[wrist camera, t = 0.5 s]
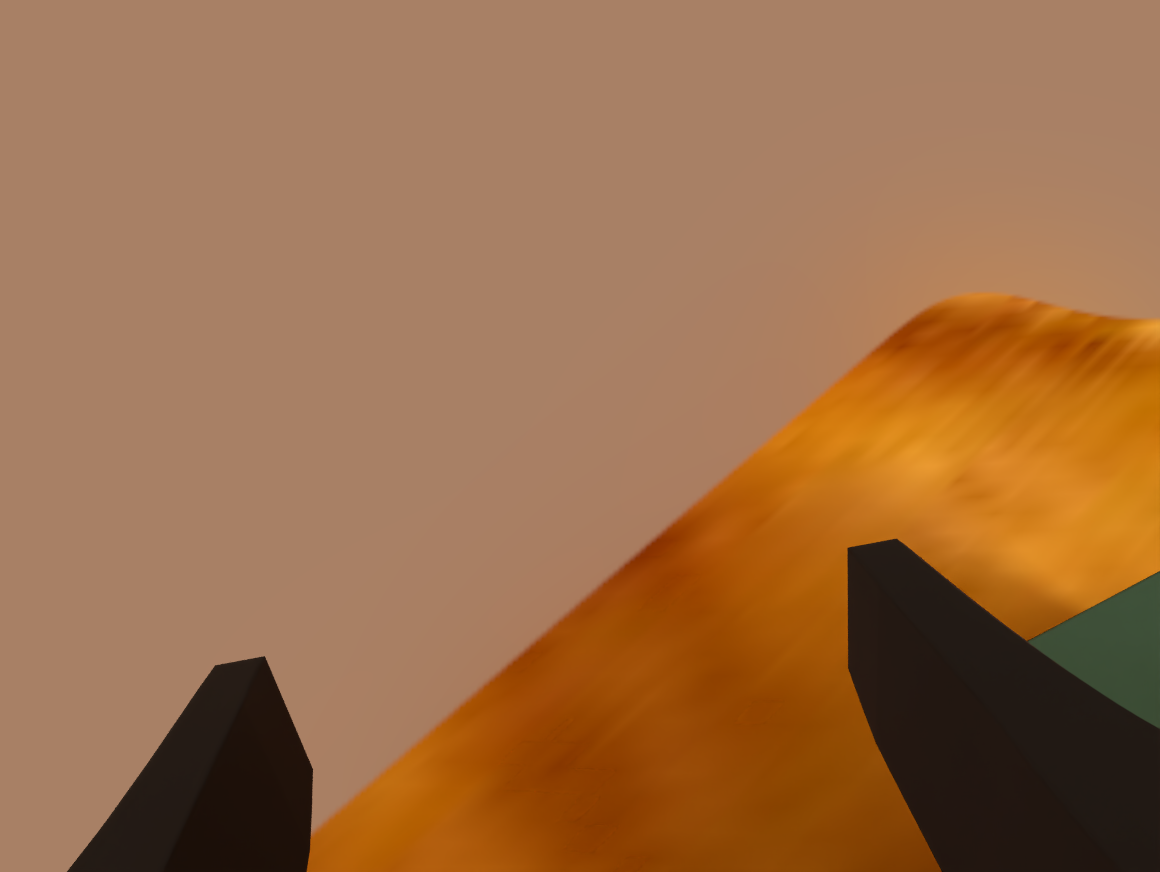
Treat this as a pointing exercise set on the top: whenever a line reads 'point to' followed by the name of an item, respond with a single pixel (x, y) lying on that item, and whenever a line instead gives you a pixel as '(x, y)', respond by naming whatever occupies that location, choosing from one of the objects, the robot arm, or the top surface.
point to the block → (1115, 648)
